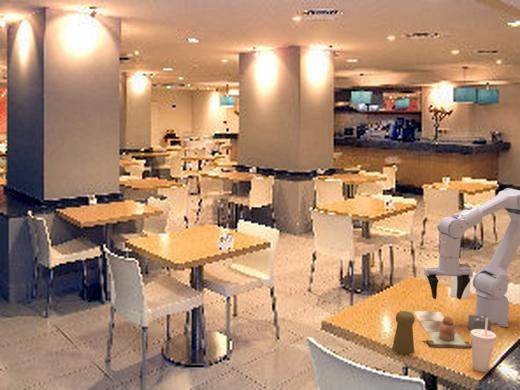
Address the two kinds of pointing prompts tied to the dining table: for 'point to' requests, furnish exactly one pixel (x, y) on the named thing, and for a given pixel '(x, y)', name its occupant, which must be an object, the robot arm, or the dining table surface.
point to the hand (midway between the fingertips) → (446, 298)
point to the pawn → (447, 329)
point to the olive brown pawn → (404, 333)
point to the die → (478, 322)
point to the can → (454, 283)
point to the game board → (434, 329)
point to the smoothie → (482, 347)
